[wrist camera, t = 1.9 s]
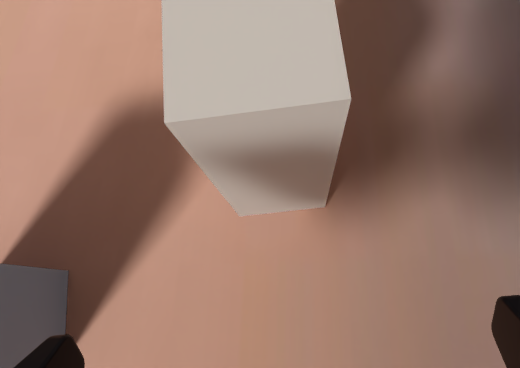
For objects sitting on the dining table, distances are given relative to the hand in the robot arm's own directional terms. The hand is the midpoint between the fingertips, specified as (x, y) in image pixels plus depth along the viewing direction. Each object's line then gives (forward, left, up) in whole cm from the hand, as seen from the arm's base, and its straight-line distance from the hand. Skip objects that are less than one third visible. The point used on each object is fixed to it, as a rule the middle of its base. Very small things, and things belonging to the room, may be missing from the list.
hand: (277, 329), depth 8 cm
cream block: (+7, +3, -13) cm, 16 cm away
